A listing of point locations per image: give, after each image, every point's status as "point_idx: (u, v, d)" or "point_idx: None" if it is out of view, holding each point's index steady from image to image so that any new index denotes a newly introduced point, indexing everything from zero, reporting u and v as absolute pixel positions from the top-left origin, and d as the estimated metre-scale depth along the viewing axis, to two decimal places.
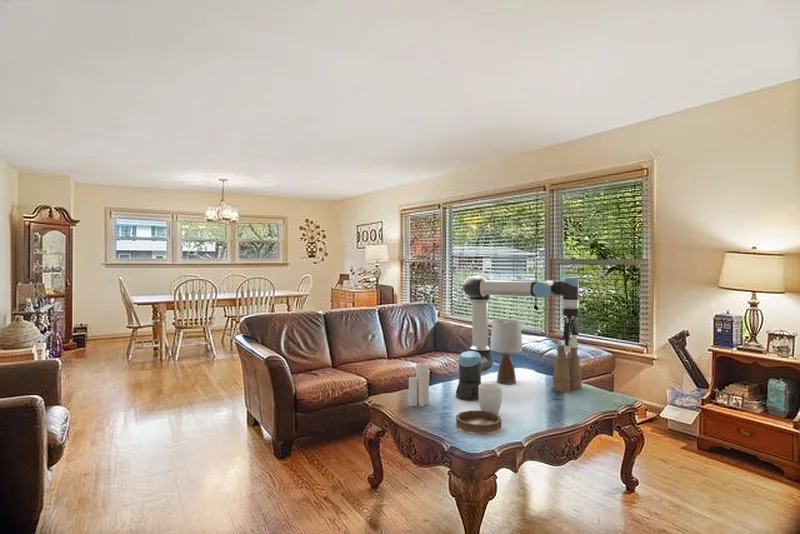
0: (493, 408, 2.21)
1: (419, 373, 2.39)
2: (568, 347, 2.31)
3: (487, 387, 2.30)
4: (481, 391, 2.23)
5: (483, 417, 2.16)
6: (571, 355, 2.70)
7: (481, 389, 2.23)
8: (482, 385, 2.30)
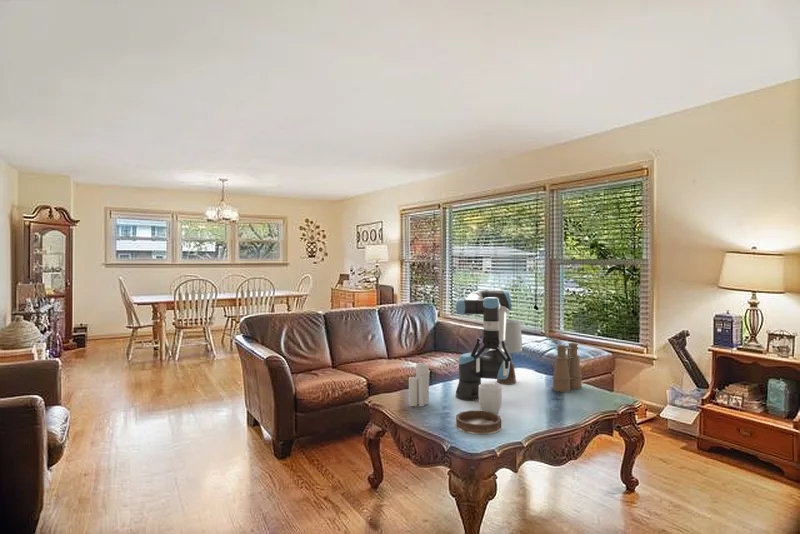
0: (493, 408, 2.21)
1: (419, 373, 2.39)
2: None
3: (487, 387, 2.30)
4: (481, 391, 2.23)
5: (483, 417, 2.16)
6: (571, 355, 2.70)
7: (481, 389, 2.23)
8: (482, 385, 2.30)
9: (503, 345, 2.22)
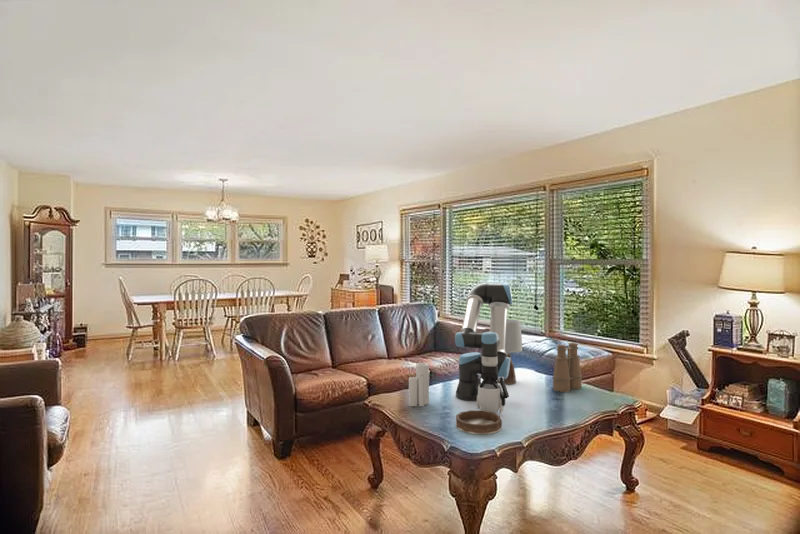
0: (493, 408, 2.21)
1: (419, 373, 2.39)
2: None
3: (487, 387, 2.31)
4: (480, 391, 2.23)
5: (483, 417, 2.16)
6: (571, 355, 2.70)
7: (481, 389, 2.23)
8: None
9: (501, 382, 2.22)
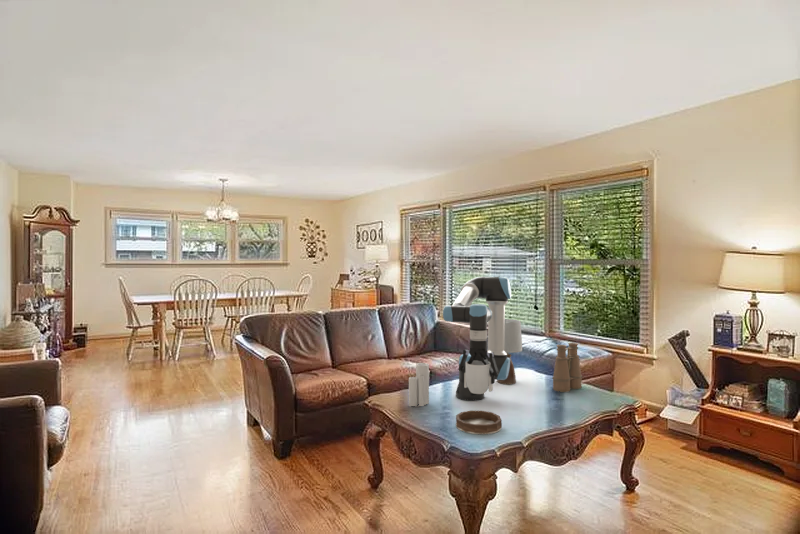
0: (481, 386, 2.03)
1: (419, 373, 2.39)
2: None
3: (475, 364, 2.12)
4: (468, 368, 2.05)
5: (483, 417, 2.16)
6: (571, 355, 2.70)
7: (468, 365, 2.04)
8: None
9: (490, 357, 2.04)
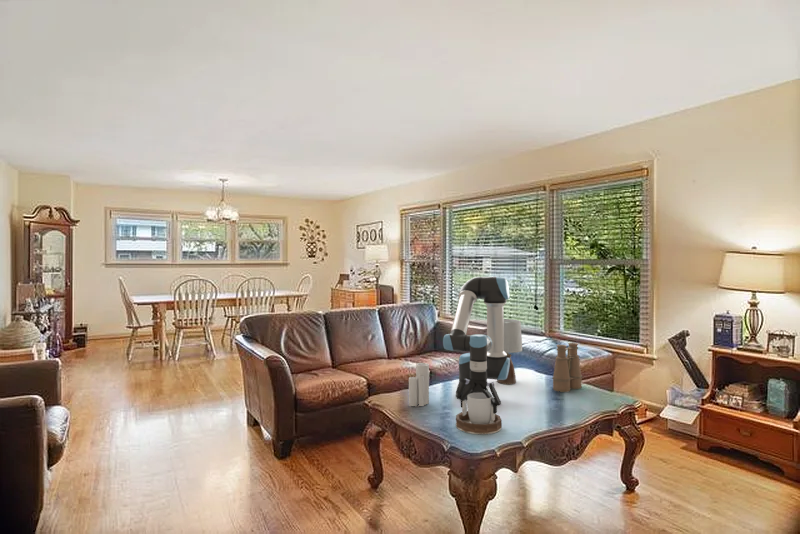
0: (483, 420, 2.03)
1: (419, 373, 2.39)
2: None
3: (477, 397, 2.12)
4: (470, 401, 2.05)
5: None
6: (571, 355, 2.70)
7: (470, 399, 2.05)
8: (471, 395, 2.12)
9: (491, 388, 2.04)
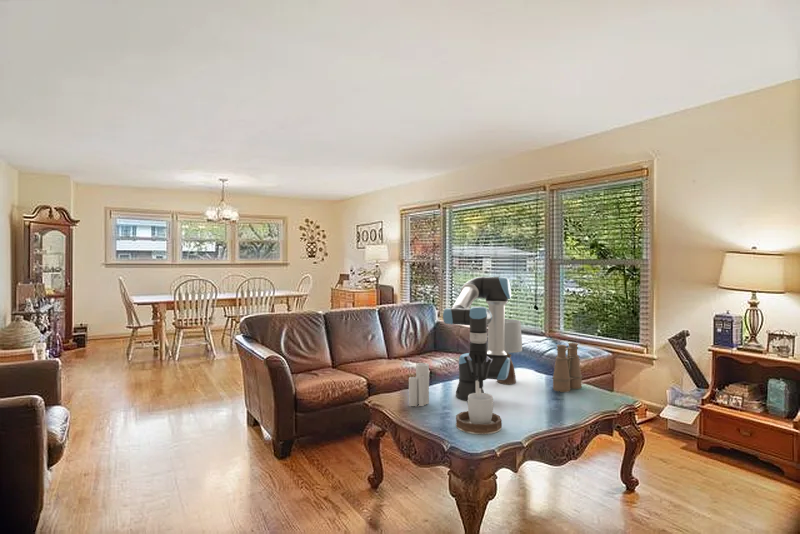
0: (484, 420, 2.02)
1: (419, 373, 2.39)
2: None
3: (477, 397, 2.12)
4: (470, 402, 2.04)
5: None
6: (571, 355, 2.70)
7: (471, 399, 2.04)
8: (472, 395, 2.11)
9: (487, 363, 2.04)
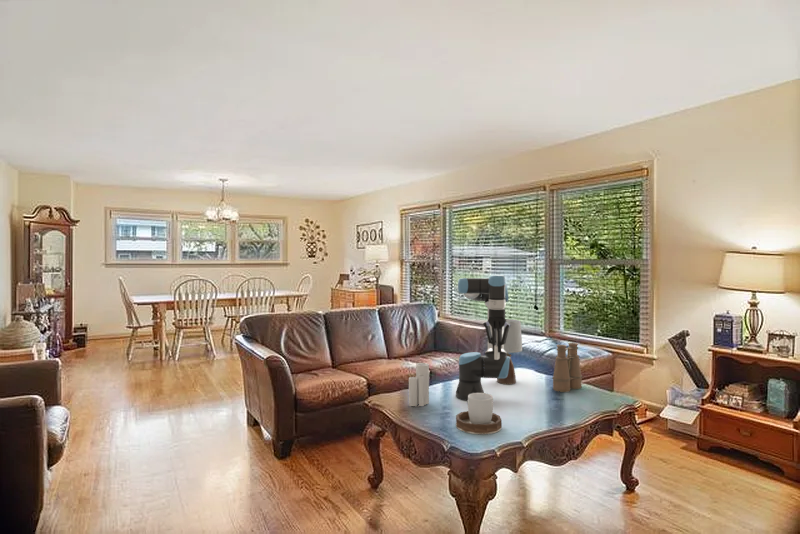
0: (484, 420, 2.02)
1: (419, 373, 2.39)
2: None
3: (477, 397, 2.12)
4: (470, 402, 2.04)
5: None
6: (571, 355, 2.70)
7: (471, 399, 2.04)
8: (472, 395, 2.11)
9: (506, 328, 2.14)
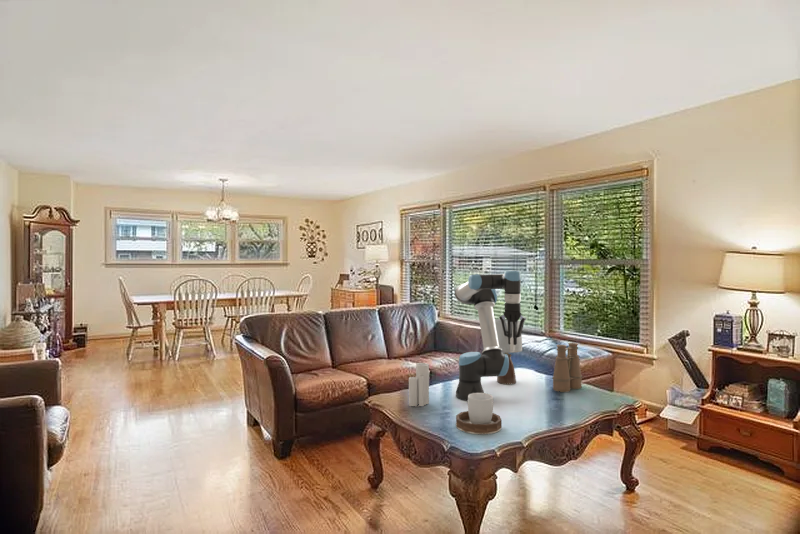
0: (484, 420, 2.02)
1: (419, 373, 2.39)
2: None
3: (477, 397, 2.12)
4: (470, 402, 2.04)
5: None
6: (571, 355, 2.70)
7: (471, 399, 2.04)
8: (472, 395, 2.11)
9: (521, 321, 2.24)
